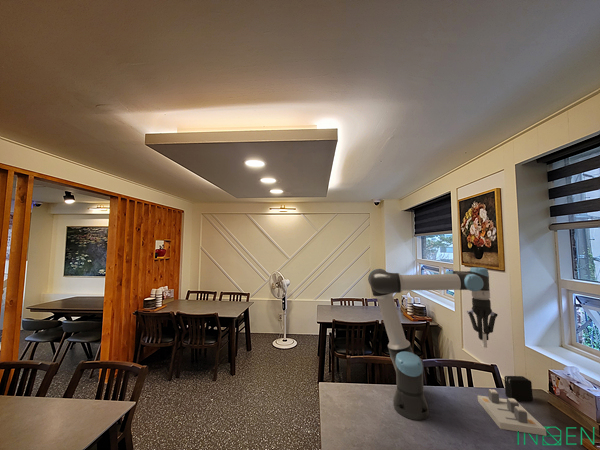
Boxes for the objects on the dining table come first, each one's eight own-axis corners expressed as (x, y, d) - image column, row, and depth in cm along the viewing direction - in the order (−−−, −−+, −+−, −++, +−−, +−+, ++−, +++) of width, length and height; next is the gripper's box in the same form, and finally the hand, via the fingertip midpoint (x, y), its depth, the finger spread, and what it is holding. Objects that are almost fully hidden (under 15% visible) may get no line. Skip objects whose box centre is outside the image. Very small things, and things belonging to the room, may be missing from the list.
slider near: (519, 421, 100) (518, 410, 101) (514, 416, 103) (513, 405, 104) (527, 422, 100) (526, 411, 100) (522, 418, 103) (521, 406, 103)
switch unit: (500, 428, 100) (499, 422, 100) (477, 400, 118) (477, 395, 119) (546, 435, 96) (545, 428, 97) (515, 405, 115) (515, 399, 115)
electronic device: (533, 402, 118) (531, 380, 119) (512, 401, 118) (511, 380, 119) (525, 396, 122) (523, 376, 123) (505, 396, 122) (504, 375, 123)
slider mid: (511, 412, 106) (510, 401, 107) (507, 408, 109) (506, 397, 110) (519, 413, 106) (518, 402, 106) (515, 409, 108) (514, 398, 109)
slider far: (492, 402, 113) (491, 392, 113) (488, 398, 116) (488, 388, 116) (499, 403, 112) (498, 393, 113) (495, 399, 115) (495, 389, 116)
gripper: (469, 299, 120) (472, 348, 117) (500, 300, 117) (503, 350, 115) (463, 296, 127) (466, 342, 125) (491, 297, 124) (494, 344, 122)
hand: (484, 346), depth 120 cm, fingers closed
